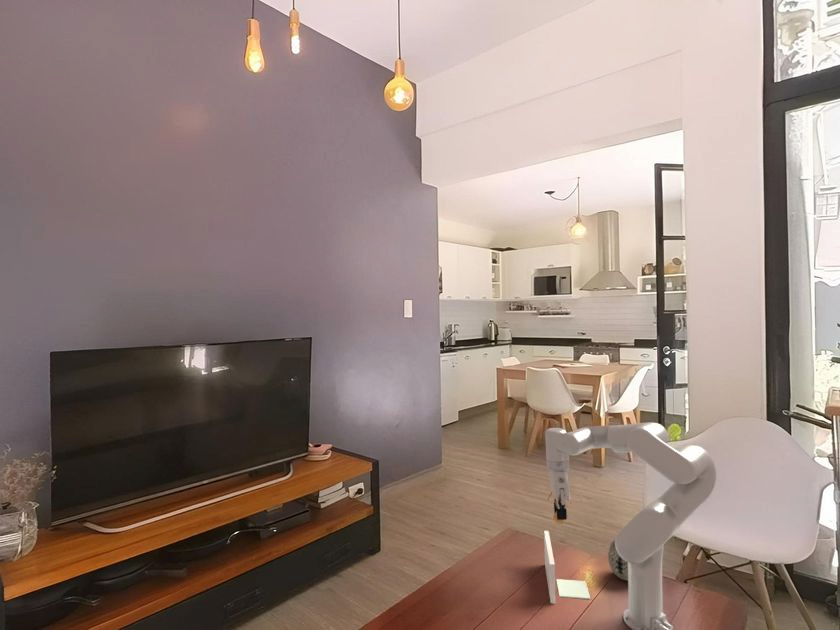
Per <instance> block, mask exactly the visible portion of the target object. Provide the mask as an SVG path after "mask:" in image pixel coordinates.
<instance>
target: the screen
mask: <svg viewBox="0 0 840 630" xmlns="http://www.w3.org/2000/svg"><path fill="white" fill-rule="evenodd" d="M543 531H544V532H543V538H544V541H543V543H544V544H543V545H544V566H545V574H546V580H547V581H546V582H547V587H548V588H547V589H548V595H549V601H550V604H553V605H554V604H556V571H555V570H556V565H555V559H554V555H553V554H554V552H553V548H552V542H551V537H550V532H549V530H543Z"/></svg>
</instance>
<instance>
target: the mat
mask: <svg viewBox="0 0 840 630" xmlns="http://www.w3.org/2000/svg"><path fill="white" fill-rule="evenodd" d="M555 581H556V586H557V590H558V595H559V596H558V597H559V598H571V599H579V600H580V599H581V600H591V595H590V593H589V592H590V591H589V588H588V585H587V582H586V580H574V579H559V578H555Z"/></svg>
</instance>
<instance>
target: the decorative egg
mask: <svg viewBox="0 0 840 630" xmlns="http://www.w3.org/2000/svg"><path fill="white" fill-rule="evenodd" d="M607 556H608V557H607V559H608V564H609V567H610V569H611V571H612V572H613V574H614V575H616V577H617V578H619V579H621V580H623V581H627V582H628V562H626V561H625V560H623V559H622V558H621V557H620V556H619V554H618V553H617V550H616V547H615V539H613V541H611V543H610V545H609V548H608V554H607Z"/></svg>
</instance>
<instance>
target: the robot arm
mask: <svg viewBox="0 0 840 630" xmlns="http://www.w3.org/2000/svg"><path fill="white" fill-rule="evenodd" d="M544 437H545V438H544V441H545V455H546V456H545V457H546V470H548V471H549V476H550V477H549V481H550V490H551V492H552V495H553V501H554V502H553V511H554V514H555V513H556V511H557V519H558V520H565V521H566V520H568V515H567V502H566V500H567V501H570V499H571V495H570V494H571V493H570V482H569V475H568V471H569V470H570V463H569V462H570V461H569V460H570V459H569V456H572V457H573V456H578V455H581V454H583V453H584V452H588V451H590V450H595V449H611V450H612V451H613V452H614V453H616V454H626V453H633V455H634V456H636V457H637V458H638V459H639V460H641V461H642V462H643V463H645V465H647V466H649V468H652V469H653V470H654V471H656V472H657V473H658V474H660V475H662V476H663V477H664V478H666V479H667V480H669V481H670V482H672V483H673V484H671V485H670V486H669V487H668V488H667V490H666V491H665V492H664V493H663V494H661V495H660V496H659V497H658V498H657V499H655V500H654V501H651V502H650V503H649V504H648V505H646V506H645V507H643V508H642V509H641V510H640V511H639V512H638V513H636V514H635V516H634V517H632V519H631V520H630V521H629V522H627V524H626V525H625V526H623V528H622V529H620V530H619V532H617V534H616V536H615V539H614V540H615V547H616V550H617V553H618V554H619V556H620V557H621V558H622V559H623V560H625V561H626V562H628V581H627V588H628V589H627V590H628V591H627V592H628V593H627V595H628V596H627V597H628V599H627V601H628V608H627V609H625V610H624V611H623V621H624V624H625V625H626V626H627V627H629V628H630V629H631V630H674V626H673V625H672V624H671V623H669V622H668V620H667V615H666V614H665V613H664V611H663V610H664V608H663V605H664V604H663V555H664V547H665V545H664V544H666V542H667V541H669V540H670V539H671V538H672V537H673V536H674V535H675V534H676V533H677V532H678V531H679V530H680V528H681V527H682V526H683V524H685V522H686V521H687V520H688V519H689V518H690V517H692V516H693V514H695V513H696V512H697V510H698V509H699V508H701V506H703V504H704V503H705V502H706V501H707V500H708V499H709V497H710V496H711V494H712V492H714V491H713V490H714V488H715V485H716V481H717V468H716V465H715V462H714V460H713V458H712V456H711V454H710V453H709V452H708V451H707V450H706V449H704V448H703V447H701V446H700V445H695V444H694V445H693V444H690V445H689V444H688V445H684V446H682V447H680V448H678V449H675V448H673V447H672V446H670V445H669V444H668V442H669V432H668V431H667V430H666V427H664V426H663V425H662V424H661V423H657V422H651V421H650V422H639V423H637V422H636V423H630V424H629V423H628V424H619V425H618V424H617V425H596V426H584V427H581V428H577V429H575V430H571V431H568V432H567V431H566V429H564V428H561V427H550V428H548V429H546V430H545V434H544ZM558 497H560V498H561V499H559V498H558ZM556 500H557V507H556ZM560 501H561V502H560Z"/></svg>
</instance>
